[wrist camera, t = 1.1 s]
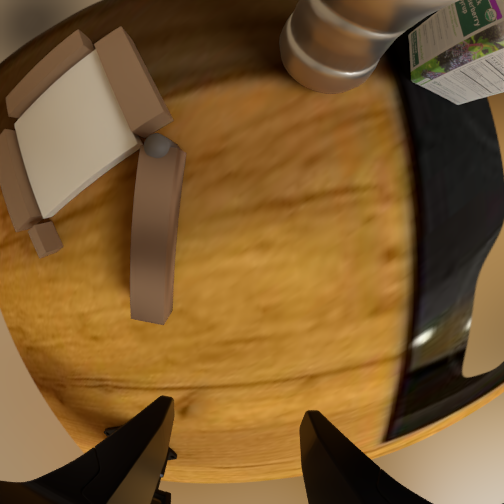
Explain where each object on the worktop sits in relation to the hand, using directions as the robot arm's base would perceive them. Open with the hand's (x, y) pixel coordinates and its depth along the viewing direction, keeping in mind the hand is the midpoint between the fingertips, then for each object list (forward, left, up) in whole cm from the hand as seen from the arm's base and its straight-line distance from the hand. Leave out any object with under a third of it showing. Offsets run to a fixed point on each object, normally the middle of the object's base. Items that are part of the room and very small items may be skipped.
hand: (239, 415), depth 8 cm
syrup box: (+24, +9, -12) cm, 28 cm away
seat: (-6, +17, -12) cm, 22 cm away
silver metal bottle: (+13, +12, -12) cm, 21 cm away
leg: (-3, +7, -12) cm, 14 cm away
